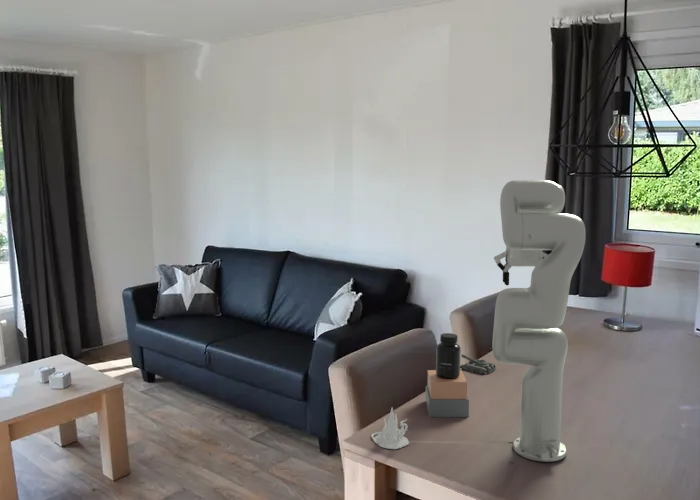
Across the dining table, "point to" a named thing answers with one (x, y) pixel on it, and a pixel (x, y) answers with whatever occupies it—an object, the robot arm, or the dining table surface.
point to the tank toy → (478, 366)
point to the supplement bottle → (448, 357)
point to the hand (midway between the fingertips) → (522, 284)
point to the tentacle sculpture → (391, 434)
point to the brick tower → (447, 396)
